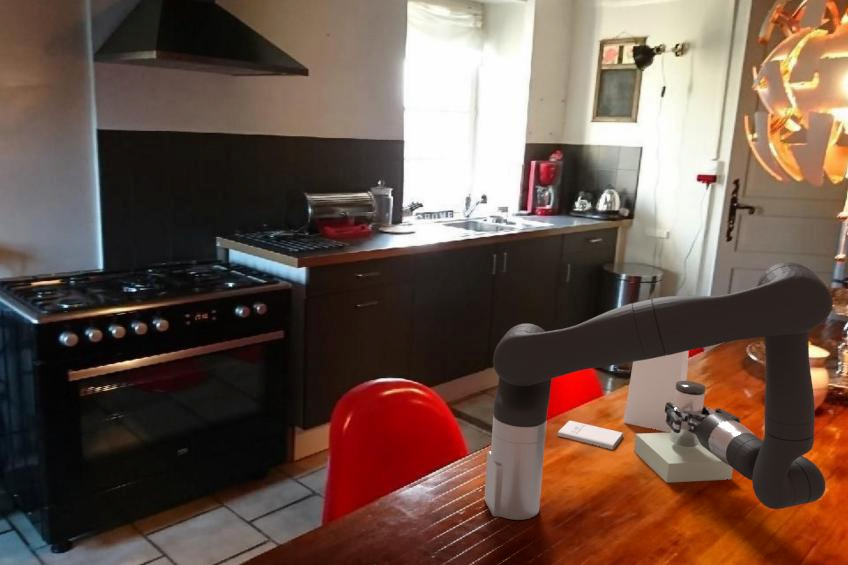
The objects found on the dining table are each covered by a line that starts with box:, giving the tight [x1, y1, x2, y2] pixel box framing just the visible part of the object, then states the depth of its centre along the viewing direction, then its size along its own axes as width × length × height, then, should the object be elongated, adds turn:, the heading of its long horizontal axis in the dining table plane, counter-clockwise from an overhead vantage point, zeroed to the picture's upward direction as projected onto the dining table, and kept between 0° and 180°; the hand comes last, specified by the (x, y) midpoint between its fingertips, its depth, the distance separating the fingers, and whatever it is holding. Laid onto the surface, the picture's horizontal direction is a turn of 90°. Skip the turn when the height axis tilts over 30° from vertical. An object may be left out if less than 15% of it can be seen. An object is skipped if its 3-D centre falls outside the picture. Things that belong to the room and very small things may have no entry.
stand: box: [633, 432, 734, 483], centre depth 147 cm, size 14×14×4 cm
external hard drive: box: [557, 420, 624, 450], centre depth 159 cm, size 2×8×12 cm
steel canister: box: [670, 380, 706, 447], centre depth 145 cm, size 6×6×12 cm
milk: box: [623, 350, 690, 433], centre depth 168 cm, size 12×12×26 cm
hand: (681, 406), depth 147 cm, fingers closed on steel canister, 5 cm apart
